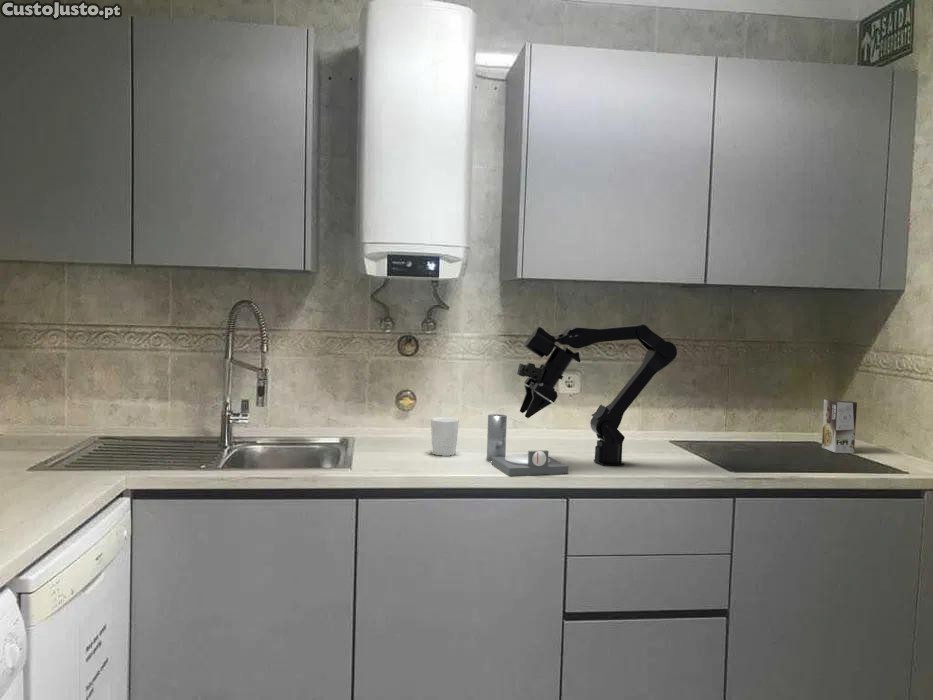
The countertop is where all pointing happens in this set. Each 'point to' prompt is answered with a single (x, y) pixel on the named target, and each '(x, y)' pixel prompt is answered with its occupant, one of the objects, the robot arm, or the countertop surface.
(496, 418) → the metal canister
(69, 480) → the countertop surface
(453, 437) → the white cup
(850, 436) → the coffee box
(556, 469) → the scale
